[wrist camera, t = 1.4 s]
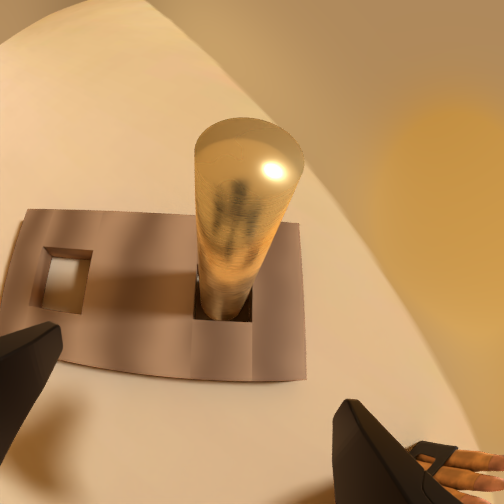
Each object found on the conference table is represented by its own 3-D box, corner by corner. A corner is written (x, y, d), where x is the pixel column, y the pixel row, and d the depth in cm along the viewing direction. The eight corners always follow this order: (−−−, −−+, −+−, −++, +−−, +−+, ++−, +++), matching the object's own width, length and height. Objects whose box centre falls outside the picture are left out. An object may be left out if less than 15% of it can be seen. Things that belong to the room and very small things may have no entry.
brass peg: (227, 329, 21) (268, 218, 7) (192, 304, 22) (171, 158, 8) (251, 296, 23) (321, 150, 9) (217, 272, 23) (237, 105, 9)
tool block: (292, 235, 25) (298, 223, 24) (297, 380, 20) (306, 379, 18) (36, 220, 22) (27, 209, 21) (8, 346, 17) (-5, 341, 15)
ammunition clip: (420, 439, 19) (528, 444, 8) (427, 452, 18) (531, 459, 8) (327, 520, 15) (410, 585, 4) (337, 531, 15) (419, 593, 4)
